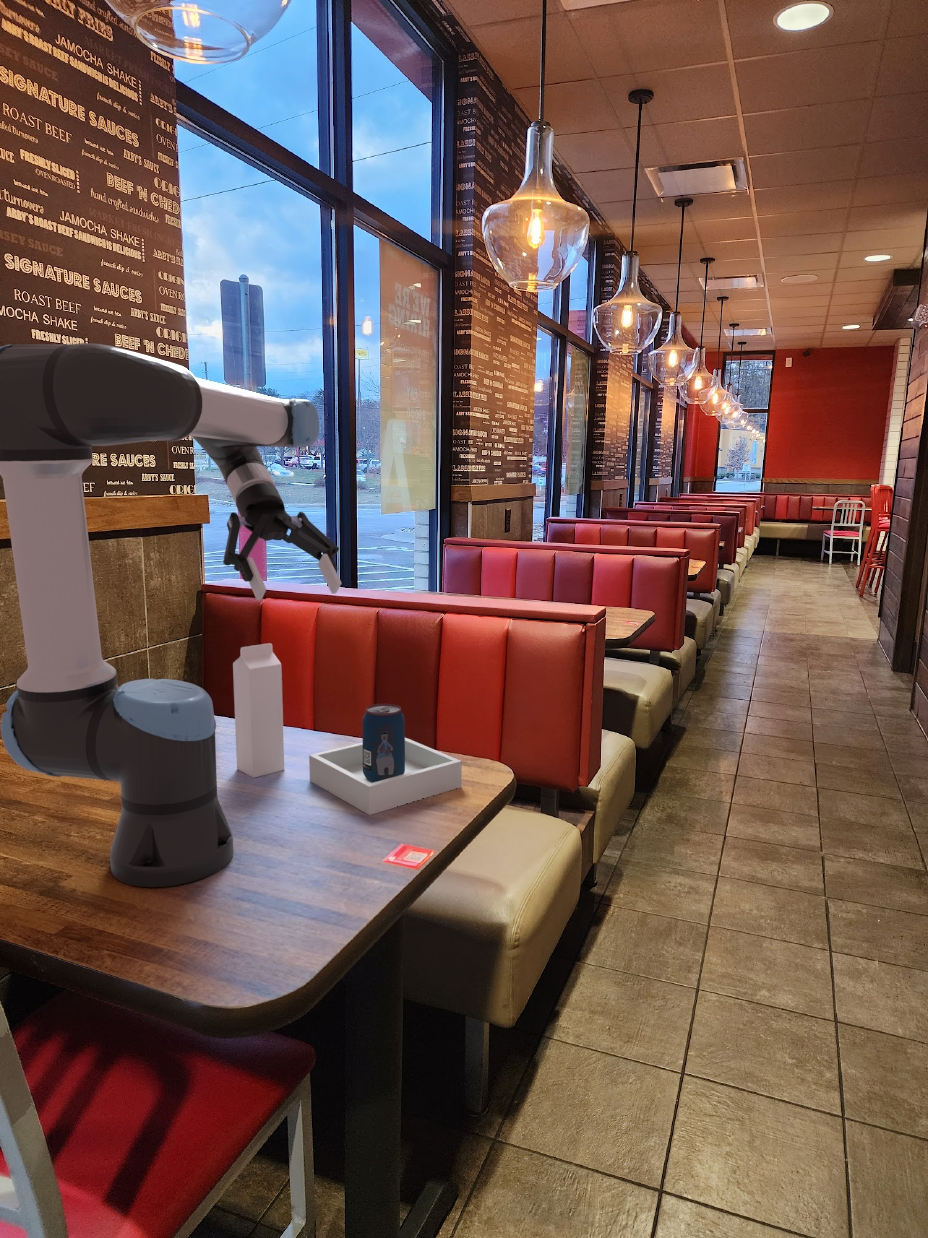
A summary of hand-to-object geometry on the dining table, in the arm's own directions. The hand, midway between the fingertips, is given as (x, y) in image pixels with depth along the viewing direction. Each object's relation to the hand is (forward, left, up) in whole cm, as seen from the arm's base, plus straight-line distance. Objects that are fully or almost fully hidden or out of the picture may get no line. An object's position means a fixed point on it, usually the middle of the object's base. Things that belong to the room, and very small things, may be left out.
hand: (300, 591), depth 129 cm
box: (+9, -11, -32) cm, 35 cm away
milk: (-4, +8, -32) cm, 33 cm away
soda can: (+9, -11, -31) cm, 34 cm away
